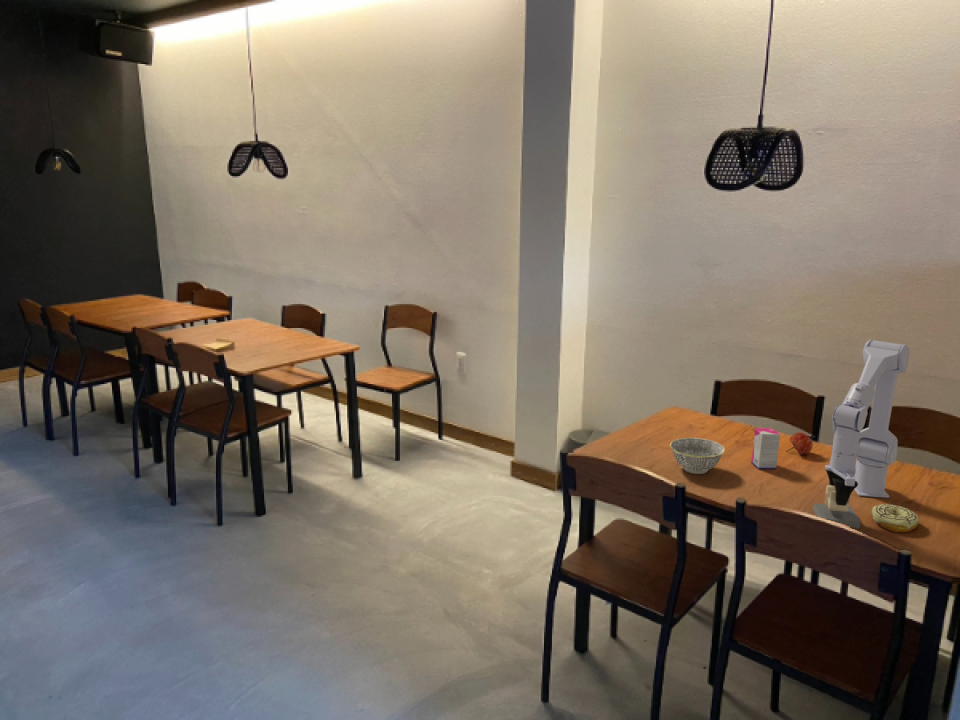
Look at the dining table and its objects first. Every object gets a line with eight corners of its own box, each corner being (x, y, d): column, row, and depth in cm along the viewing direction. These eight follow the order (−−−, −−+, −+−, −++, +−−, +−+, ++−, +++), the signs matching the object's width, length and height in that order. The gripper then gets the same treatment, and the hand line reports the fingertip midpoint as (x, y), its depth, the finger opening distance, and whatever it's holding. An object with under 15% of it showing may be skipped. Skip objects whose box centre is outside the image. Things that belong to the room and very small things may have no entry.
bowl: (662, 474, 214) (664, 450, 212) (675, 456, 228) (676, 434, 226) (717, 484, 207) (719, 460, 205) (726, 465, 221) (728, 442, 219)
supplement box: (777, 469, 217) (780, 434, 214) (757, 469, 217) (761, 434, 214) (769, 462, 223) (773, 427, 220) (750, 462, 223) (754, 427, 220)
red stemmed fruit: (790, 463, 228) (820, 449, 223) (777, 443, 229) (806, 429, 224) (793, 458, 234) (821, 444, 229) (780, 438, 235) (808, 424, 231)
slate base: (813, 510, 191) (813, 503, 190) (849, 513, 189) (850, 506, 188) (821, 525, 182) (822, 518, 182) (859, 528, 180) (860, 521, 180)
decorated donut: (868, 527, 181) (870, 514, 181) (872, 511, 190) (874, 498, 189) (916, 538, 176) (918, 524, 175) (917, 520, 185) (919, 507, 184)
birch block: (824, 502, 187) (826, 485, 186) (843, 503, 186) (845, 486, 185) (829, 510, 183) (831, 492, 182) (848, 511, 182) (850, 493, 181)
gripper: (820, 440, 188) (814, 487, 192) (835, 460, 175) (829, 511, 178) (849, 442, 187) (842, 489, 190) (866, 463, 173) (859, 514, 177)
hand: (838, 500), depth 184 cm, fingers closed on birch block, 4 cm apart
